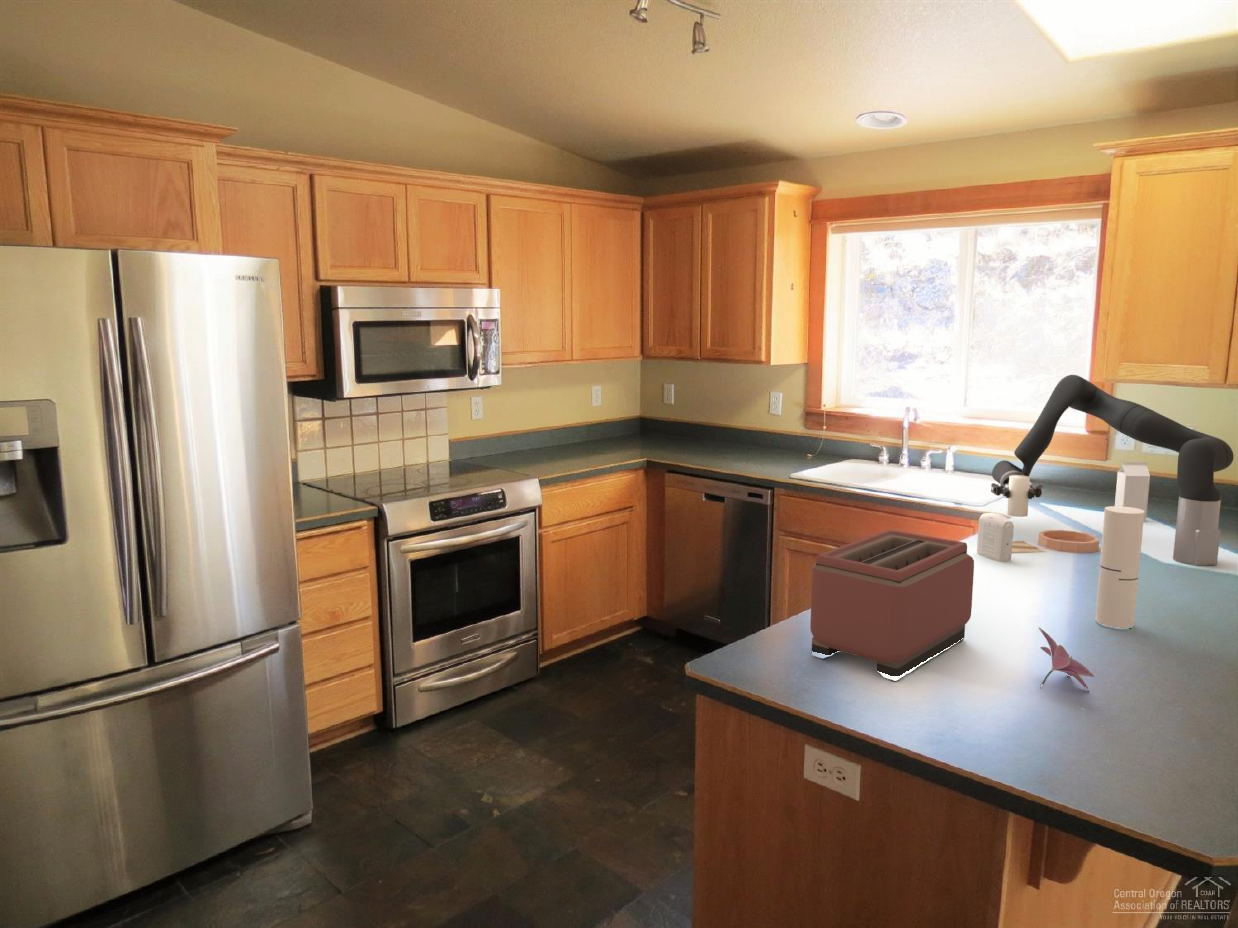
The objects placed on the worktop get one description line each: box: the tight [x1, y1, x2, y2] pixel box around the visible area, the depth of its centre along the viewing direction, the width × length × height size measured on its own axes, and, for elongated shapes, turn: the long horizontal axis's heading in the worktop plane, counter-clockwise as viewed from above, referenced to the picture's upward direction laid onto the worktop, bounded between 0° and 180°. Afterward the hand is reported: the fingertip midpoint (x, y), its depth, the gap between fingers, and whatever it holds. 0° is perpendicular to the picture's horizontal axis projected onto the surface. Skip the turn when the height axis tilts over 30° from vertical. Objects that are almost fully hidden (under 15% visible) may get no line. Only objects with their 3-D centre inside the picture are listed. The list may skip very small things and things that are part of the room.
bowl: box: [1037, 529, 1100, 554], centre depth 242 cm, size 15×15×3 cm
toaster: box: [809, 529, 975, 676], centre depth 168 cm, size 19×36×21 cm, turn 135°
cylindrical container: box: [1094, 505, 1145, 628], centre depth 178 cm, size 7×7×25 cm
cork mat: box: [1012, 540, 1047, 554], centre depth 241 cm, size 12×12×1 cm
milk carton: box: [1114, 461, 1151, 522], centre depth 274 cm, size 7×7×19 cm
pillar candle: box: [1006, 475, 1031, 518], centre depth 239 cm, size 5×5×11 cm
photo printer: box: [976, 512, 1014, 563], centre depth 231 cm, size 10×4×12 cm, turn 17°
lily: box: [1038, 627, 1095, 690], centre depth 149 cm, size 12×12×10 cm
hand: (1019, 494), depth 236 cm, fingers closed on pillar candle, 5 cm apart
